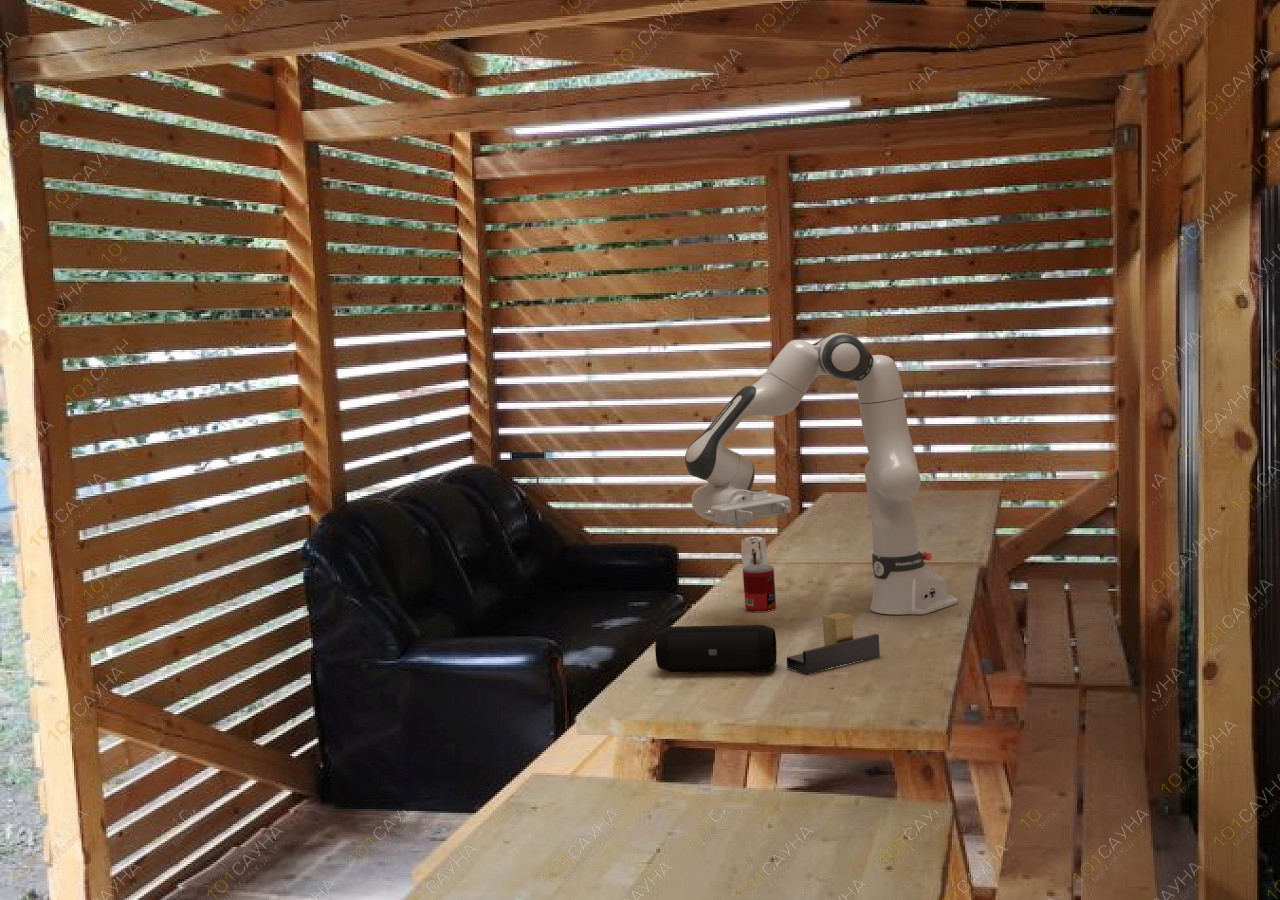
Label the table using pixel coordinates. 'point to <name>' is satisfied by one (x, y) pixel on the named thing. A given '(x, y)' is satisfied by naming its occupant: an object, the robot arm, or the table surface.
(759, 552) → the beer glass
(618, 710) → the table surface
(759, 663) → the portable speaker
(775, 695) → the table surface
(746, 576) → the canned food
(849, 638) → the wooden block
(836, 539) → the table surface
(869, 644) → the rail
